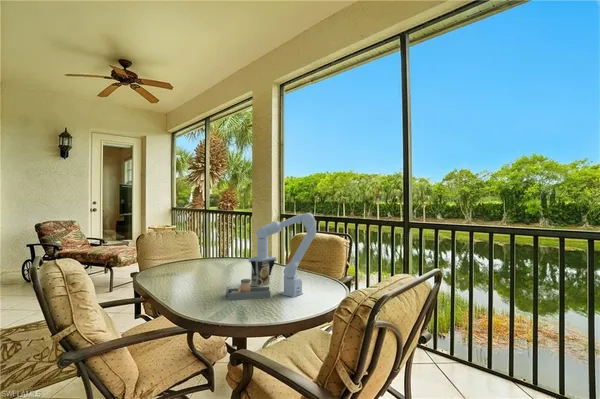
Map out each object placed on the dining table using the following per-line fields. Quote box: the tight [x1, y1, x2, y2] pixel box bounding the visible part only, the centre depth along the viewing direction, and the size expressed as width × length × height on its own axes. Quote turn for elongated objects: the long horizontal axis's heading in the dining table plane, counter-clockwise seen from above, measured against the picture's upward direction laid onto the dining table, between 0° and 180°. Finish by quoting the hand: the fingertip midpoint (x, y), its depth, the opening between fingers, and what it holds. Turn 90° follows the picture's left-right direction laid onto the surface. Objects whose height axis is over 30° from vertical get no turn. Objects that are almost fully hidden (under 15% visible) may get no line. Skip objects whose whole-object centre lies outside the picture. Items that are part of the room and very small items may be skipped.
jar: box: [240, 278, 251, 292], centre depth 152 cm, size 5×5×7 cm
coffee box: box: [250, 256, 271, 287], centre depth 173 cm, size 9×6×16 cm
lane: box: [225, 286, 273, 301], centre depth 153 cm, size 23×9×4 cm, turn 101°
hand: (262, 275), depth 158 cm, fingers open, 7 cm apart
